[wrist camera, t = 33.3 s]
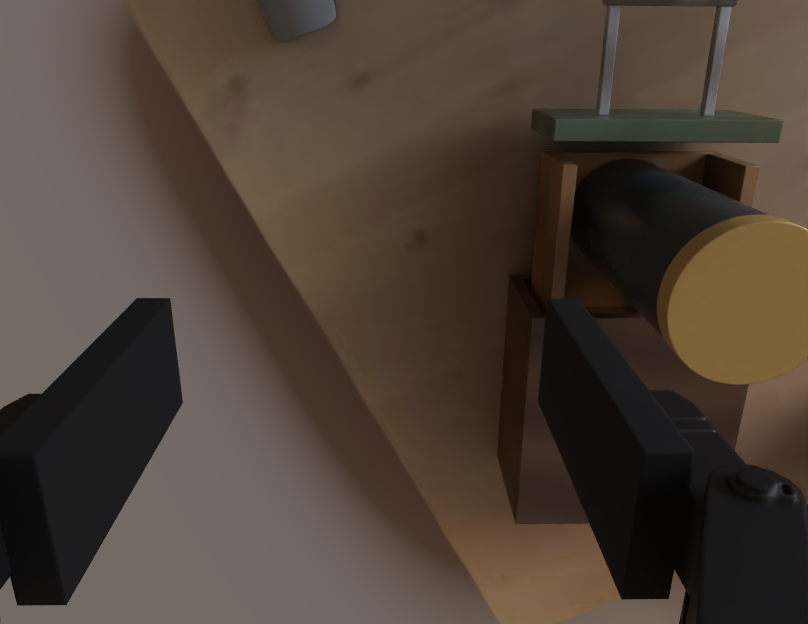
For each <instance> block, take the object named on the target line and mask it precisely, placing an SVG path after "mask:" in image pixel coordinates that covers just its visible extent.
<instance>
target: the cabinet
mask: <svg viewBox="0 0 808 624" xmlns="http://www.w3.org/2000/svg"><path fill="white" fill-rule="evenodd" d="M531 280H532V275H510V276H509V287H508V302H507V317H506V332H505V347H504V362H503V377H502V392H501V407H500V422H499V437H498V452H497V457H498V460H499V465H500V468H501V472H502V476H503V479H504V483H505V487H506V491H507V494H508V498H509V502H510V506H511V509H512V513H513V517H514V520H515V524H583V523H589V521H588V519H587V516H586V514H585V512H584V509H583V507H582V505H581V502H580V500H579V498H578V495H577V493H576V490H575V488H574V486H573V483H572V481H571V479H570V476H569V474H568V472H567V469H566V467H565V464H564V462H563V460H562V457H561V455H560V453H559V450H558V448H557V446H556V443H555V441H554V438H553V436H552V434H551V431H550V429H549V427H548V424H547V422H546V420H545V417H544V415H543V413H542V410H541V408H540V405H539V403H538V395H539V383H540V372H541V361H542V349H543V338H544V327H545V315H546V313H542V311H541V310H540V308H539V306H538V304H537V303H536V301H535V299H534V298H533V296H532V294H531ZM591 315H592V316H593V317H594V319H595V320H596V321H597V323H598V324H599V325H600V327H601V328H602V329H603V331H604V332H605V333H606V334H607V336H608V337H609V338H610V340H611V341H612V342H613V344H614V345H615V346H616V348H617V349H618V350H619V352H620V353H621V354H622V355H623V357H624V358H625V359H626V361H627V362H628V363H629V365H630V366H631V367H632V369H633V370H634V371H635V373H636V374H637V375H638V377H639V378H640V379H641V380H642V382H643V383H644V384H645V386H646V387H647V388H648V390H672V391H674V392H676V393H678V394H679V395H681V396H683V397H684V398H686V399H688V400H689V401H691V402H693V403H694V404H695V406H696V407H697V408H698V409H699V410H700V411H701V413H702V414H703V415H704V416H705V417H706V420H708V421H709V422H710V423H711V424H712V425H713V427H714V428H715V429H716V432H719V433H720V435H721V436H722V437H723V438H724V439H725V440H726V442H727V443H728V444H729V445H730V446H731V447H732V449H733V450H734V451H735V446H736V442H737V437H738V432H739V427H740V423H741V418H742V413H743V408H744V404H745V399H746V394H747V389H748V384H742V385H734V384H724V383H719V382H715V381H712V380H709V379H706V378H704V377H702V376H700V375H698V374H696V373H695V372H694V371H692V370H691V369H689V368H688V367H687V366H686V365H685V364H684V363H683V362H682V361H681V360H680V359H679V358H678V357H677V356H676V354H675V353H674V352H673V351H672V350H671V349H670V347H669V346H668V345H667V343H666V341H665V340H664V338H663V337H662V336H661V335H660V334H659V333H658V332H657V331H656V330H655V329H654V328H653V327H652V326H651V325H650V324H649V323H648V321H647V320H646V319H645V318H644V317H643V316H642V315H641V314H640V313H591Z"/></svg>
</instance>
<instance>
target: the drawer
mask: <svg viewBox="0 0 808 624" xmlns="http://www.w3.org/2000/svg"><path fill="white" fill-rule="evenodd" d="M738 1H739V0H603V4H604V5H609V6H607V11H606V21H605V30H604V40H603V50H602V59H601V69H600V78H599V88H598V97H597V107H596V109H533V110H532V124H531V128H532V129H533V130H535V131H537V132H539V133H540V134H542V135H544V136H546V137H547V138H549V139H551V140H553V141H568V142H739V143H778V142H779V139H780V134H781V129H782V124H783V120H779V119H774V118H768V117H763V116H758V115H752V114H747V113H741V112H736V111H731V110H715V104H716V98H717V92H718V86H719V79H720V73H721V67H722V61H723V55H724V49H725V43H726V37H727V31H728V25H729V18H730V12H731V7H733V6H735V5H736V4H737V3H738ZM621 6H714V7H717V8H716V14H715V20H714V27H713V33H712V40H711V46H710V52H709V59H708V65H707V71H706V78H705V84H704V90H703V97H702V103H701V110H623V109H609V107H610V98H611V89H612V80H613V71H614V62H615V53H616V44H617V35H618V26H619V17H620V8H621ZM628 158H632V159H640V160H645V161H647V162H650V163H652V164H655V165H657V166H659V167H661V168H664V169H666V170H668V171H670V172H673V173H675V174H677V175H679V176H682V177H684V178H686V179H689V180H691V181H693V182H695V183H698V184H700V185H702V186H704V187H707V188H709V189H711V190H713V191H716V192H718V193H720V194H723V195H725V196H727V197H729V198H732V199H734V200H736V201H738V202H741V203H743V204H745V205H747V206H750V207H752V204H753V199H754V193H755V188H756V183H757V178H758V173H759V166H757V165H754V164H751V163H748V162H744V161H741V160H738V159H735V158H732V157H729V156H726V155H723V154H720V153H716V152H693V151H542V153H541V166H540V178H539V191H538V204H537V216H536V229H535V242H534V254H533V267H532V280H531V294H532V296H533V298H534V299H535V301H536V303H537V304H538V306H539V308H540V310H541V311H542V313H546V304H547V298H579V299H580V300H581V302H582V303H583V304H584V306H585V307H586V308H587V309H588V311H589V312H590V313H639V312H638V311H637V310H636V309H635V308H634V307H633V306H632V305H631V303H630V302H629V301H628V300H627V299H626V298H625V297H624V296H623V295H622V294H621V293H620V292H619V291H618V290H617V289H616V288H615V287H614V286H613V284H612V283H611V282H610V281H609V280H608V279H607V278H606V277H605V276H604V275H603V274H602V273H601V272H600V271H599V270H598V269H597V268H596V266H595V265H594V264H593V263H592V262H591V261H590V260H589V259H588V258H587V257H586V256H585V255H584V254H583V253H582V252H581V251H580V249H579V248H578V247H577V246H576V244H575V242H574V240H573V238H572V235H571V225H572V215H573V205H574V195H575V192H576V190H577V188H578V187H579V185H580V184H581V183H582V181H583V180H584V179H585V178H586V177H587V176H588V175H589V174H590V173H591V172H593V171H594V170H595V169H597V168H599V167H600V166H602V165H604V164H606V163H608V162H611V161H614V160H619V159H628Z"/></svg>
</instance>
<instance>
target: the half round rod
mask: <svg viewBox="0 0 808 624" xmlns="http://www.w3.org/2000/svg"><path fill="white" fill-rule="evenodd" d="M258 3H259V5H260V8H261V10H262V13H263V15H264V18H265V20H266V23H267V25H268V28H269V30H270V32H271V34H272V36H273V38H274V39H275V40H276V41H278V42H283V41H289V40H292V39H295V38H298V37H300V36H303V35H306V34H308V33H311V32H313V31H316V30H318V29H320V28H323V27H325V26H326V25H328V24H330V23H331V22H332V21H333V20H334V19H335V18H336V8H335V4H334V0H258Z"/></svg>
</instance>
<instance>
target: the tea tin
mask: <svg viewBox="0 0 808 624" xmlns="http://www.w3.org/2000/svg"><path fill="white" fill-rule="evenodd" d="M571 235H572V238H573V240H574V242H575V244H576V246H577V247H578V248H579V249H580V251H581V252H582V253H583V254H584V255H585V256H586V257H587V258H588V259H589V260H590V261H591V262H592V263H593V264H594V265H595V266H596V268H597V269H598V270H599V271H600V272H601V273H602V274H603V275H604V276H605V277H606V278H607V279H608V280H609V281H610V282H611V283H612V284H613V286H614V287H615V288H616V289H617V290H618V291H619V292H620V293H621V294H622V295H623V296H624V297H625V298H626V299H627V300H628V301H629V302H630V303H631V305H632V306H633V307H634V308H635V309H636V310H637V311H638V312H639V313H640V314H641V315H642V316H643V317H644V318H645V319H646V320H647V321H648V323H649V324H650V325H651V326H652V327H653V328H654V329H655V330H656V331H657V332H658V333H659V334H660V335H661V336H662V337H663V338H664V340H665V341H666V343H667V345H668V346H669V347H670V349H671V350H672V351H673V352H674V353H675V354H676V356H677V357H678V358H679V359H680V360H681V361H682V362H683V363H684V364H685V365H686V366H687V367H688V368H689V369H691V370H692V371H694V372H695V373H696V374H698V375H700V376H702V377H704V378H706V379H709V380H712V381H715V382H719V383H724V384H734V385H742V384H752V383H758V382H762V381H766V380H769V379H772V378H775V377H777V376H780V375H782V374H784V373H786V372H788V371H789V370H791V369H793V368H794V367H796V366H797V365H799V364H800V363H802V362H803V361H804V360H805V359H806V358H808V229H806V228H804V227H802V226H799V225H797V224H795V223H792V222H790V221H787V220H785V219H782V218H779V217H775V216H770V215H768V214H766V213H763V212H761V211H759V210H757V209H754V208H752V207H750V206H747V205H745V204H743V203H741V202H738V201H736V200H734V199H732V198H729V197H727V196H725V195H723V194H720V193H718V192H716V191H713V190H711V189H709V188H707V187H704V186H702V185H700V184H698V183H695V182H693V181H691V180H689V179H686V178H684V177H682V176H679V175H677V174H675V173H673V172H670V171H668V170H666V169H664V168H661V167H659V166H657V165H655V164H652V163H650V162H647V161H645V160H640V159H632V158H628V159H619V160H614V161H611V162H608V163H606V164H604V165H602V166H600V167H599V168H597V169H595V170H594V171H593V172H591V173H590V174H589V175H588V176H587V177H586V178H585V179H584V180H583V181H582V183H581V184H580V185H579V187H578V188H577V190H576V192H575V195H574V205H573V215H572V225H571Z"/></svg>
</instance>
